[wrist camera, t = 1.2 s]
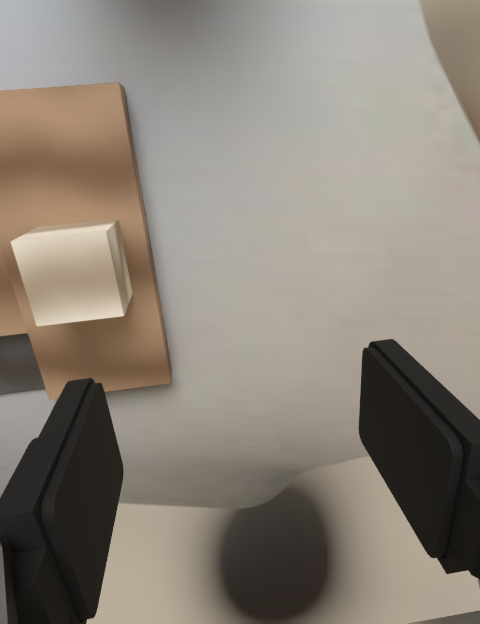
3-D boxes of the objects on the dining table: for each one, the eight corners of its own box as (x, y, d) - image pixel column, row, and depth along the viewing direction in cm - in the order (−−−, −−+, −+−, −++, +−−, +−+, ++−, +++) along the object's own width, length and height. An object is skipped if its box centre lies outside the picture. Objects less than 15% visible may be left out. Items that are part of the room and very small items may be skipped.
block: (36, 227, 25) (10, 241, 21) (118, 219, 25) (106, 231, 21) (57, 301, 27) (36, 326, 23) (132, 293, 27) (123, 316, 23)
